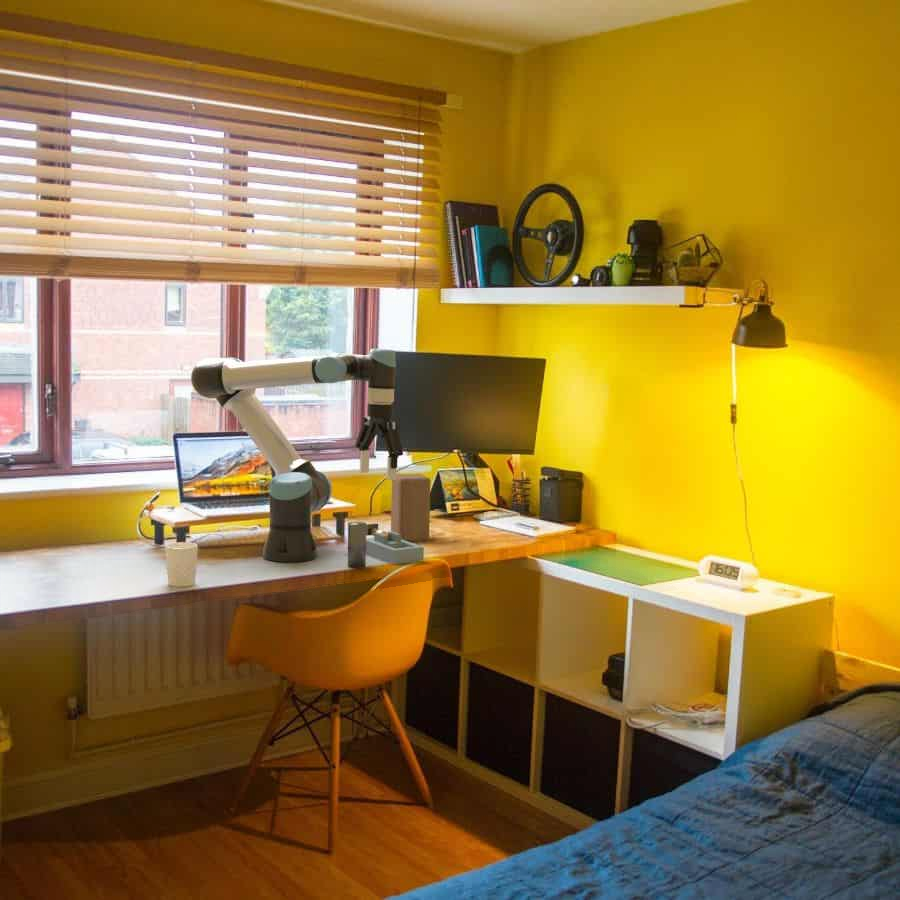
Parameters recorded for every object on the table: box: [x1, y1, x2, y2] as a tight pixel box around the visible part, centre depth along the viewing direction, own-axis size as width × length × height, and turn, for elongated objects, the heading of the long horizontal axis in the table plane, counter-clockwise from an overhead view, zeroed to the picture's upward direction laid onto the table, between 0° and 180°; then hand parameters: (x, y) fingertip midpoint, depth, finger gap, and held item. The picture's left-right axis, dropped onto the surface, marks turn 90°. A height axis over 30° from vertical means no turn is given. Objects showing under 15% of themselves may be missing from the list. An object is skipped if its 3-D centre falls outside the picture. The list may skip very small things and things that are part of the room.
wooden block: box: [390, 473, 431, 543], centre depth 340 cm, size 10×10×20 cm
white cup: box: [165, 541, 198, 588], centre depth 277 cm, size 8×8×10 cm
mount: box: [366, 531, 425, 565], centre depth 316 cm, size 10×18×6 cm, turn 34°
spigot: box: [347, 521, 367, 569], centre depth 302 cm, size 5×5×12 cm
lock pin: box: [366, 522, 390, 540], centre depth 322 cm, size 4×9×3 cm, turn 34°
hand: (377, 476), depth 317 cm, fingers open, 13 cm apart
